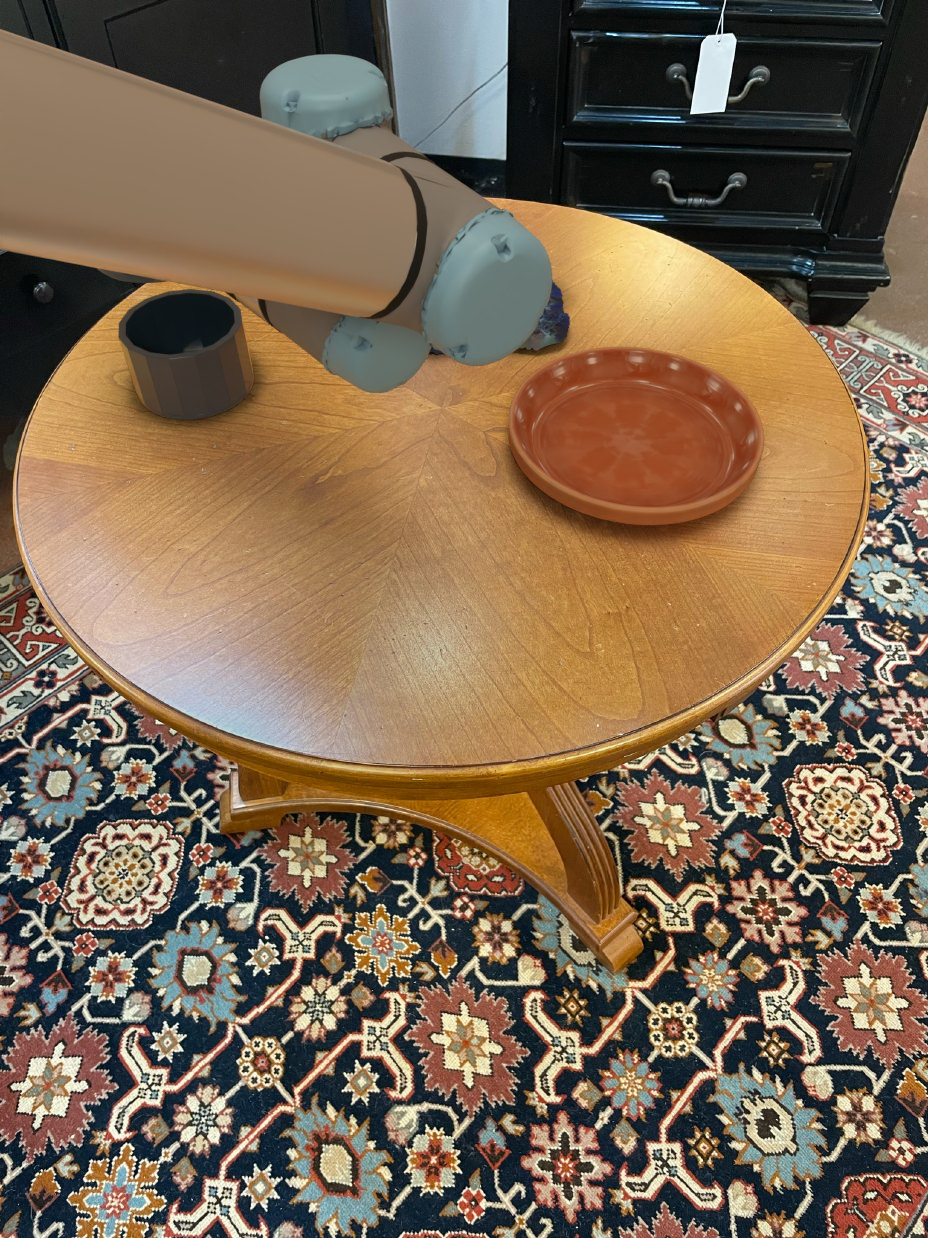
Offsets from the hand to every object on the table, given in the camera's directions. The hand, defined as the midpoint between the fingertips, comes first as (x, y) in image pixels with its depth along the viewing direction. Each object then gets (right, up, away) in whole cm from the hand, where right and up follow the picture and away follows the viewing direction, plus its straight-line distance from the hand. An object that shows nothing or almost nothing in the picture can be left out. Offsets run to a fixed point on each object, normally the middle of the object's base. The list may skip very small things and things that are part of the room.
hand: (110, 152), depth 82 cm
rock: (+33, -8, +21) cm, 40 cm away
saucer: (+46, -25, +7) cm, 52 cm away
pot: (+4, -16, +13) cm, 22 cm away
